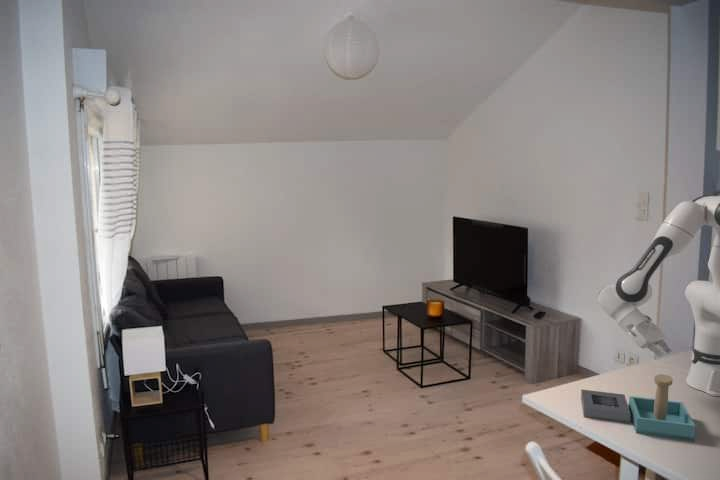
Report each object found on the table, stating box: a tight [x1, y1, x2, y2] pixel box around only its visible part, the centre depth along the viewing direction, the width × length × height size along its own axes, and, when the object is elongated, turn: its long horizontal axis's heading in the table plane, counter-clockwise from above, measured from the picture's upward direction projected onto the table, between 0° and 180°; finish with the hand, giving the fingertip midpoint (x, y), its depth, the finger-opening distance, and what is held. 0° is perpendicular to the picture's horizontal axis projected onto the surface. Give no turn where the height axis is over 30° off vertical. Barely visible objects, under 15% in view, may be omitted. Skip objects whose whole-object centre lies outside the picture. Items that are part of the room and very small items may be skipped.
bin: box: [628, 395, 696, 442], centre depth 174 cm, size 16×16×5 cm
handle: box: [653, 373, 673, 421], centre depth 173 cm, size 5×6×15 cm
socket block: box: [580, 388, 631, 424], centre depth 184 cm, size 14×14×4 cm
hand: (666, 353), depth 186 cm, fingers open, 8 cm apart
